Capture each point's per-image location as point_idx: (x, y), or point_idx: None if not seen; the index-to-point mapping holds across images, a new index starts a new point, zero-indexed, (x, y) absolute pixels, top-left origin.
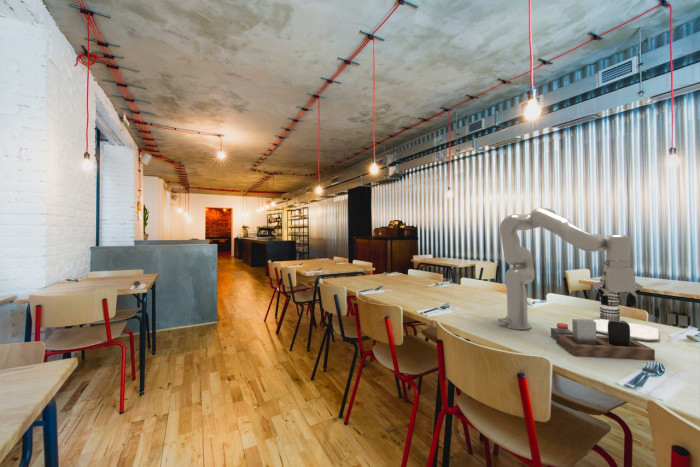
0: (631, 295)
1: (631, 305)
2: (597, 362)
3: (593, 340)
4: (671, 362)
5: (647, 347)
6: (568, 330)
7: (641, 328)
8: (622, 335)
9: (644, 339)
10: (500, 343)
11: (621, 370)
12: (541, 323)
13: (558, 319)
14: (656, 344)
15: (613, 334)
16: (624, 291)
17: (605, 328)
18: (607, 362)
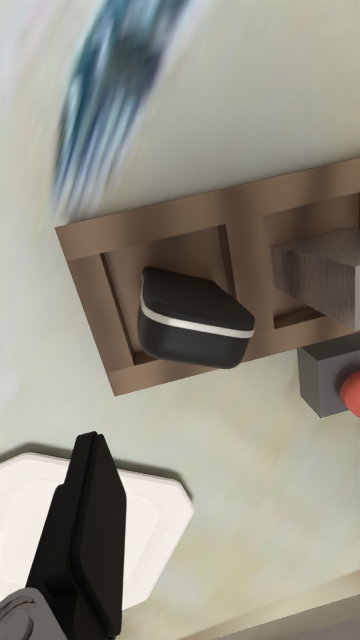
0: (81, 616)
1: (107, 447)
2: (313, 98)
3: (301, 247)
4: (7, 220)
5: (76, 258)
6: (326, 391)
7: (8, 578)
8: (177, 284)
9: (35, 453)
10: None
11: (255, 12)
12: (328, 509)
13: (253, 572)
14: (2, 433)
15: (215, 292)
16: (337, 630)
17: (136, 527)
18: (272, 115)
